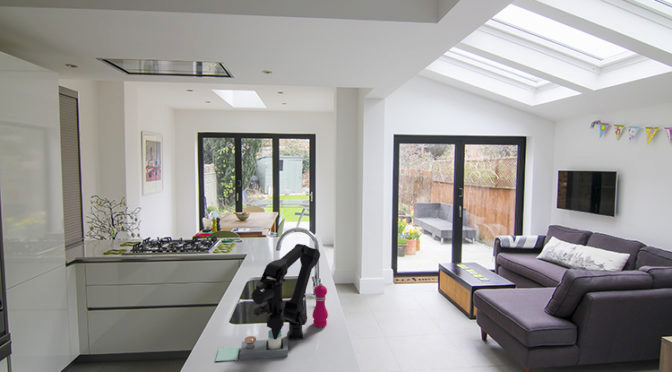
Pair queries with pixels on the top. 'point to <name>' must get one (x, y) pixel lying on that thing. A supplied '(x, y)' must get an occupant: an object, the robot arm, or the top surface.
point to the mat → (227, 354)
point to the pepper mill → (320, 306)
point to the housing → (263, 350)
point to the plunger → (250, 342)
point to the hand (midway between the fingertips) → (275, 333)
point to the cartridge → (274, 341)
